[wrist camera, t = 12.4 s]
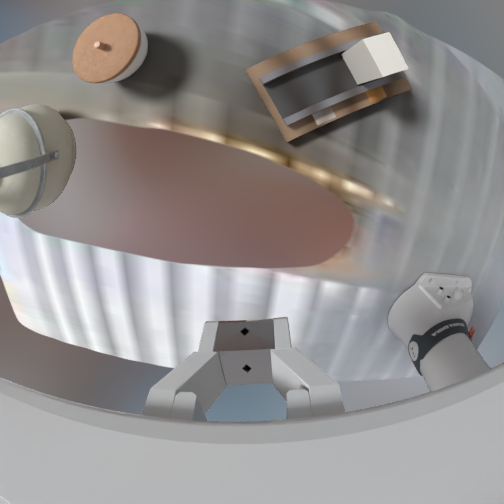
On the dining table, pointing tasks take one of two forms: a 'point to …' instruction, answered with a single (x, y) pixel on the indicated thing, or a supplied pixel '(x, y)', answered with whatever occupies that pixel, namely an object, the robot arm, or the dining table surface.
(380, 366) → the dining table surface
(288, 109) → the switch housing
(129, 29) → the lidded jar
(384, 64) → the switch knob
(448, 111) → the dining table surface
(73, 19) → the dining table surface
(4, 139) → the kettle
